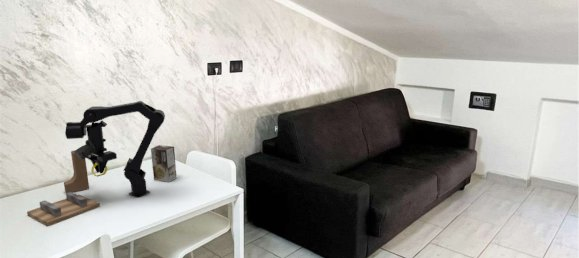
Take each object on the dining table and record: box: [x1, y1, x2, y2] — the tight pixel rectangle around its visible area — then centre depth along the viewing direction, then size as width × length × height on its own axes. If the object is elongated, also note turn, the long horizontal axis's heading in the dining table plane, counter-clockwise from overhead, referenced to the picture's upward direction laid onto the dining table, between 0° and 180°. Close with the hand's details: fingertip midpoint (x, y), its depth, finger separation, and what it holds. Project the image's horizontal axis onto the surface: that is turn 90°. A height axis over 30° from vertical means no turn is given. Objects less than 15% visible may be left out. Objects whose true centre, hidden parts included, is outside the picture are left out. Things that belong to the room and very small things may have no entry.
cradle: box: [26, 192, 101, 227], centre depth 151 cm, size 16×20×4 cm
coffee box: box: [150, 144, 177, 183], centre depth 183 cm, size 9×6×16 cm
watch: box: [91, 162, 108, 177], centre depth 161 cm, size 6×3×6 cm, turn 138°
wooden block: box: [63, 149, 90, 194], centre depth 169 cm, size 9×4×18 cm, turn 133°
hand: (99, 172), depth 161 cm, fingers closed on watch, 2 cm apart
